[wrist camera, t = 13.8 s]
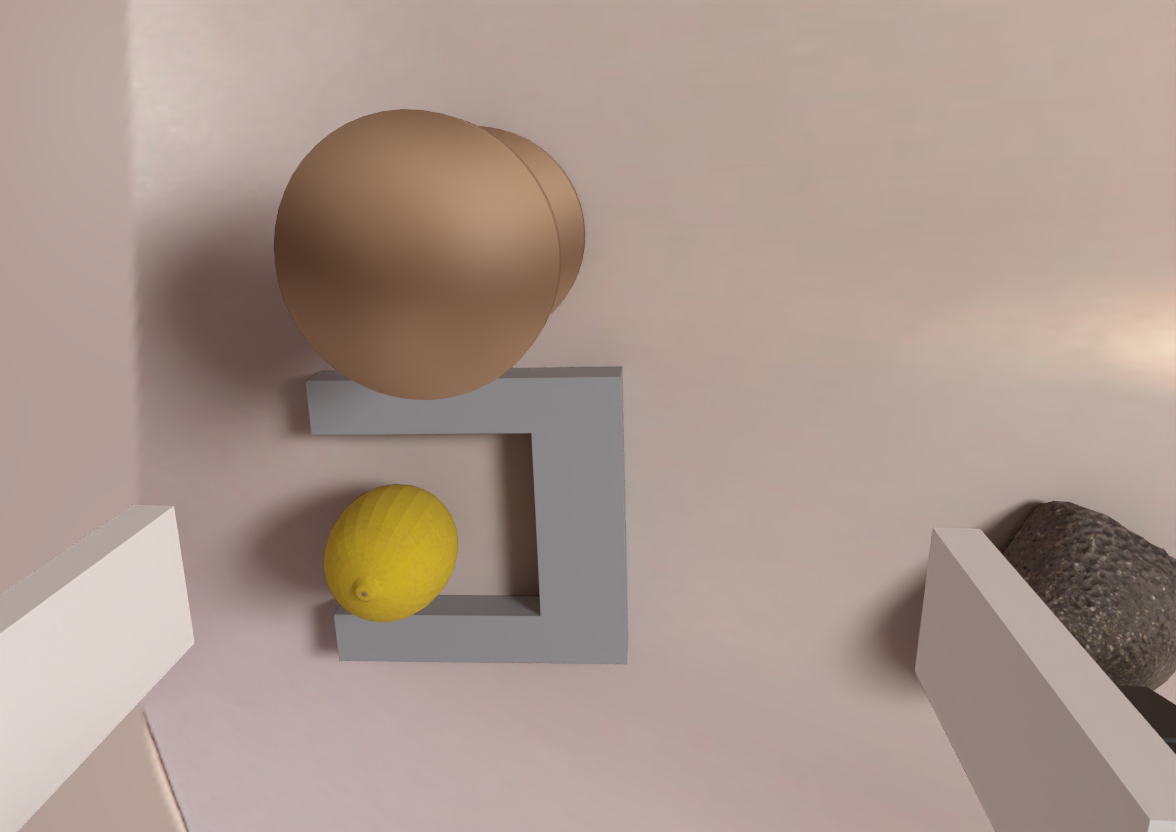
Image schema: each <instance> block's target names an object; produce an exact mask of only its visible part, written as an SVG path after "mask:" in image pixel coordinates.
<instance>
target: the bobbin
mask: <svg viewBox="0 0 1176 832" xmlns="http://www.w3.org/2000/svg"><path fill="white" fill-rule="evenodd" d="M584 247H585V227H584V218H583V213H582V209H581V205H580V202H579V199H578V197H577V194H576V191H575V189H574V187H573V186H572V184H571V182H570V180H569V178H568V177H567V175H566V174H565V172H564V171H563V170H562V168H561V167H560V166H559V165H558V164H557V162H556V161H555V160H554V159H553V158H552V157H551V156H550V155H549V154H547V153H546V152H545V151H544V150H543V149H542V148H540V147H539V146H537V145H535V144H534V143H532V142H531V141H529V140H527V139H525V138H523V137H521V136H519V135H517V134H513V133H510V132H507V131H504V130H500V129H495V128H490V127H480V126H476V125H474V124H471V123H469V122H467V121H464V120H461V119H458V118H455V117H451V116H448V115H444V114H441V113H435V112H430V111H424V110H405V109H400V110H391V111H382V112H378V113H375V114H371V115H367V116H363V117H361V118H359V119H356V120H354V121H351V122H349V123H347V124H345V125H343V126H342V127H340V128H338V129H337V130H335V131H333V132H332V133H330V134H329V135H328V136H327V137H325V138H324V139H323V140H322V141H320V142H319V143H318V144H317V145H316V146H315V147H314V148H313V149H312V150H311V151H310V152H309V153H308V154H307V156H306V157H305V158H304V159H303V160H302V162H301V163H300V165H299V166H298V168H297V169H296V171H295V172H294V173H293V175H292V177H291V179H290V181H289V183H288V185H287V187H286V189H285V191H284V194H283V197H282V200H281V203H280V206H279V210H278V215H277V220H276V225H275V237H274V254H275V266H276V272H277V277H278V282H279V286H280V289H281V292H282V295H283V298H284V301H285V304H286V306H287V308H288V310H289V312H290V314H291V317H292V319H293V320H294V322H295V324H296V325H297V327H298V328H299V330H300V332H301V333H302V335H303V336H304V337H305V339H306V340H307V341H308V343H309V344H310V345H311V346H312V348H313V349H314V350H315V351H316V352H317V353H318V354H319V355H320V356H321V357H322V358H323V359H324V360H325V361H326V362H327V363H328V364H330V365H331V366H332V367H334V368H335V369H336V370H337V371H339V372H340V373H341V374H343V375H344V376H346V377H348V378H349V379H351V380H353V381H354V382H356V383H358V384H360V385H362V386H364V387H366V388H369V389H371V390H373V391H376V392H379V393H382V394H386V395H389V396H393V397H398V398H404V399H412V400H436V399H445V398H450V397H455V396H460V395H463V394H466V393H469V392H471V391H474V390H477V389H479V388H481V387H483V386H485V385H487V384H489V383H491V382H493V381H494V380H496V379H497V378H498V377H500V376H501V375H503V374H504V373H506V372H507V371H508V370H509V369H510V368H511V367H512V366H513V365H515V364H516V363H517V362H518V361H519V360H520V359H521V358H522V356H523V355H524V354H525V353H526V352H527V350H528V349H529V348H530V347H531V346H532V344H533V343H534V341H535V340H536V338H537V337H538V335H539V334H540V332H541V330H542V329H543V327H544V325H545V324H546V322H547V319H548V317H549V315H550V314H551V313H552V312H553V311H555V309H556V308H557V307H558V306H559V305H560V303H561V302H562V301H563V300H564V298H565V297H566V295H567V294H568V292H569V290H570V289H571V287H572V286H573V284H574V282H575V279H576V277H577V275H578V273H579V269H580V266H581V263H582V259H583V253H584Z"/></svg>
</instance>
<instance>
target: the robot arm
mask: <svg viewBox="0 0 1176 832" xmlns="http://www.w3.org/2000/svg"><path fill="white" fill-rule="evenodd" d="M194 643H195V642H194V636H193V629H192V623H191V616H190V609H189V603H188V596H187V589H186V583H185V576H184V570H183V563H182V556H181V550H180V543H179V536H178V530H177V523H176V517H175V510H174V506H160V505H131V506H130V507H128V508H127V509H125V510H124V511H122V512H121V513H119V514H118V515H116V516H115V517H113V518H112V519H110V520H109V521H108V522H106V523H105V524H103V525H102V526H100V527H99V528H97V529H96V530H94V531H93V532H91V533H90V534H88V535H87V536H85V537H84V538H82V539H81V540H79V541H78V542H76V543H75V544H73V545H72V546H70V547H69V548H68V549H66V550H64V551H63V552H62V553H60V554H59V555H57V556H56V557H54V558H53V559H51V560H50V561H48V562H47V563H45V564H44V565H42V566H41V567H39V568H38V569H36V570H35V571H33V572H32V573H30V574H29V575H27V576H26V577H24V578H23V579H21V580H20V581H18V582H17V583H15V584H14V585H13V586H11V587H10V588H8V589H7V590H5V591H4V592H2V593H1V594H0V832H17V831H18V830H19V829H20V828H21V827H22V826H23V825H24V824H25V823H26V822H27V821H28V820H29V818H31V817H32V815H33V814H34V813H35V812H36V811H37V810H38V809H39V808H40V807H41V806H42V805H43V804H44V803H45V802H46V801H47V799H48V798H49V797H50V796H51V795H52V794H53V793H54V792H55V791H56V790H57V789H58V788H59V787H60V786H61V785H62V784H63V782H64V781H65V780H66V779H67V778H68V777H69V776H70V775H71V774H72V773H73V772H74V771H75V770H76V769H77V767H78V766H79V765H80V764H81V763H82V762H83V761H84V760H85V759H86V758H87V757H88V756H89V755H90V754H91V753H92V752H93V750H94V749H95V748H96V747H97V746H98V745H99V744H100V743H101V742H102V741H103V740H104V739H105V738H106V737H107V736H108V735H109V733H110V732H111V731H112V730H113V729H114V728H115V727H116V726H117V725H118V724H119V723H120V722H121V720H123V719H124V717H125V716H126V715H127V714H128V713H129V712H130V711H131V710H132V709H133V708H134V707H135V706H136V705H137V704H138V703H139V701H140V700H141V699H142V698H143V697H144V696H145V695H146V694H147V693H148V692H149V691H150V690H151V689H152V688H153V687H154V686H155V684H156V683H157V682H158V681H159V680H160V679H161V678H162V677H163V676H164V675H165V674H166V673H167V672H168V671H169V670H170V668H171V667H172V666H173V665H174V664H175V663H176V662H177V661H178V660H179V659H180V658H181V657H182V656H183V655H184V654H185V653H186V651H187V650H188V649H189V648H190V647H191V646H192V645H193V644H194ZM915 673H916V675H917V677H918V679H919V681H920V683H921V685H922V687H923V689H924V691H925V693H926V695H927V697H928V699H929V701H930V703H931V705H932V707H933V709H934V711H935V713H936V715H937V717H938V719H939V721H940V723H941V725H942V727H943V729H944V731H945V733H946V735H947V737H948V739H949V741H950V743H951V745H952V747H953V749H954V751H955V753H956V755H957V757H958V759H959V761H960V763H961V765H962V767H963V769H964V771H965V773H966V775H967V777H968V778H969V780H970V782H971V784H972V786H973V788H974V790H975V792H976V794H977V796H978V798H979V800H980V802H981V804H982V806H983V808H984V810H985V812H986V814H987V816H988V818H989V820H990V822H991V824H992V826H993V828H994V830H995V832H1176V705H1175V704H1173V703H1172V702H1170V701H1168V700H1167V699H1165V698H1164V697H1162V696H1161V695H1159V694H1157V693H1156V692H1154V691H1153V690H1151V689H1149V688H1148V687H1141V686H1116V685H1115V684H1114V683H1113V682H1112V680H1111V679H1110V678H1109V677H1108V676H1107V675H1106V674H1105V672H1104V671H1103V670H1102V669H1101V668H1100V667H1099V665H1098V664H1097V663H1096V662H1095V661H1094V660H1093V659H1092V657H1091V656H1090V655H1089V654H1088V653H1087V652H1086V650H1085V649H1084V648H1083V647H1082V646H1081V645H1080V644H1079V642H1078V641H1077V640H1076V639H1075V638H1074V637H1073V635H1072V634H1071V633H1070V632H1069V631H1068V630H1067V629H1066V627H1065V626H1064V625H1063V624H1062V623H1061V622H1060V621H1059V619H1058V618H1057V617H1056V616H1055V615H1054V614H1053V612H1052V611H1051V610H1050V609H1049V608H1048V607H1047V606H1046V604H1045V603H1044V602H1043V601H1042V600H1041V599H1040V597H1039V596H1038V595H1037V594H1036V593H1035V592H1034V591H1033V589H1032V588H1031V587H1030V586H1029V585H1028V584H1027V582H1026V581H1025V580H1024V579H1023V578H1022V577H1021V576H1020V574H1019V573H1018V572H1017V571H1016V570H1015V569H1014V567H1013V566H1012V565H1011V564H1010V563H1009V562H1008V561H1007V559H1006V558H1005V557H1004V556H1003V555H1002V554H1001V553H1000V551H999V550H998V549H997V548H996V547H995V546H994V544H993V543H992V542H991V541H990V540H989V539H988V538H987V536H986V535H985V534H984V533H983V532H982V531H981V529H971V528H935V527H933V528H932V536H931V544H930V553H929V561H928V569H927V577H926V585H925V593H924V601H923V609H922V617H921V625H920V633H919V641H918V649H917V657H916V665H915Z"/></svg>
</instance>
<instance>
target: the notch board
mask: <svg viewBox="0 0 1176 832" xmlns="http://www.w3.org/2000/svg"><path fill="white" fill-rule="evenodd" d="M305 385H306V393H307V401H308V410H309V418H310V426H311V434H312V435H370V434H486V433H531V435H532V455H533V475H534V494H535V514H536V534H537V553H538V573H539V593H540V596H439V595H437V596H436V597H435V599H434V600H433V601H432V602H431V603H430V604H429V605H427V606H426V607H425V608H423V609H422V610H420V611H418V612H417V613H415V614H413V615H412V616H410V617H407V618H404V619H401V620H397V621H394V622H374V621H368V620H364V619H362V618H359V617H357V616H355V615H353V614H351V613H350V612H349V611H347V610H346V609H344V608H343V607H342V606H341V605H340V606H339V608H338V609H337V611H336V612H335V613H334V622H335V630H336V638H337V646H338V654H339V661H400V662H481V663H562V664H627V651H628V620H627V571H626V523H625V475H624V427H623V378H622V367H568V368H510V369H509V370H508V371H507V372H506V373H504V374H503V375H501V376H500V377H498V378H497V379H496V380H494V381H493V382H491V383H489V384H487V385H485V386H483V387H481V388H479V389H477V390H474V391H471V392H469V393H466V394H463V395H460V396H455V397H450V398H445V399H436V400H412V399H404V398H398V397H393V396H389V395H386V394H382V393H379V392H376V391H373V390H371V389H369V388H366V387H364V386H362V385H360V384H358V383H356V382H354V381H353V380H351V379H349V378H348V377H346V376H344V375H343V374H341V373H340V372H339V371H321V372H319V373H318V374H316V375H314V376H313V377H311V378H309V379H308V380H306V381H305Z"/></svg>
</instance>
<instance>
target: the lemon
mask: <svg viewBox="0 0 1176 832" xmlns="http://www.w3.org/2000/svg"><path fill="white" fill-rule="evenodd" d="M457 553H458V537H457V529H456V527H455V524H454V521H453V518H452V516H451V514H450V513H449V511H448V510H447V508H446V507H445V505H444V504H443V503H442V502H441V501H440V500H439V499H437V498H436V497H435V496H434V495H432V494H431V493H429V492H427V491H425V490H424V489H421V488H418V487H415V486H411V485H399V484H393V485H388V486H382V487H378V488H376V489H374V490H371V491H369V492H367V493H365V494H363V495H361V496H360V497H358V498H357V499H356V500H355V501H354V502H353V503H351V504H350V505H349V506H348V507H347V508H346V509H345V510H344V511H343V512H342V514H341V515H340V517H339V518H338V520H337V521H336V523H335V524H334V526H333V528H332V530H331V532H330V535H329V538H328V541H327V545H326V548H325V552H324V573H325V577H326V581H327V585H328V587H329V589H330V591H331V593H332V594H333V596H334V598H335V599H336V600H337V601H338V603H339V604H340V605H341V606H342V607H343V608H344V609H346V610H347V611H349V612H350V613H351V614H353V615H355V616H357V617H359V618H362V619H364V620H368V621H374V622H394V621H397V620H401V619H404V618H407V617H410V616H412V615H413V614H415V613H417V612H418V611H420V610H422V609H423V608H425V607H426V606H427V605H429V604H430V603H431V602H432V601H433V600H434V599H435V597H436V596H437V595H438V594H439V593H440V592H441V591H442V590H443V589H444V587H445V586H446V584H447V582H448V580H449V578H450V576H451V574H452V572H453V570H454V567H455V563H456V558H457Z"/></svg>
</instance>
